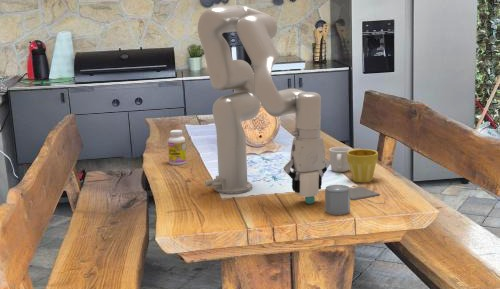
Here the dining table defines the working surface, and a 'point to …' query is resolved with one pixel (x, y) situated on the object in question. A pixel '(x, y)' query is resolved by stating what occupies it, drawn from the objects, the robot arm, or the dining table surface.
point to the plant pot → (362, 164)
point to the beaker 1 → (309, 184)
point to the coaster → (361, 193)
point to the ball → (310, 199)
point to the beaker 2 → (337, 199)
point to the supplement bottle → (177, 148)
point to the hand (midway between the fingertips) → (306, 189)
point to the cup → (339, 159)
